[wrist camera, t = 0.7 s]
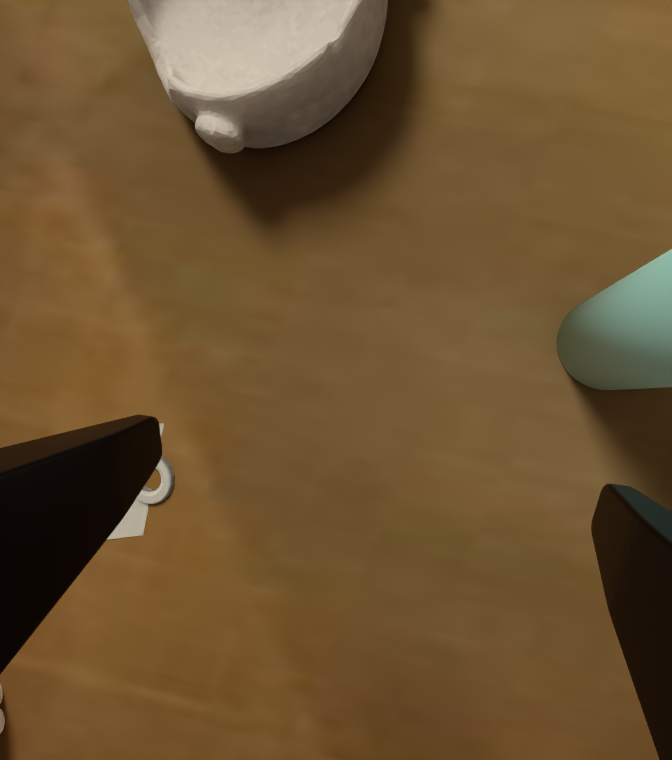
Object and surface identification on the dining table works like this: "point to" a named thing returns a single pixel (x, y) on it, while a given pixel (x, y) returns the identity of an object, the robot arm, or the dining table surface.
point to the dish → (260, 63)
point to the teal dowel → (623, 332)
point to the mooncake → (1, 712)
